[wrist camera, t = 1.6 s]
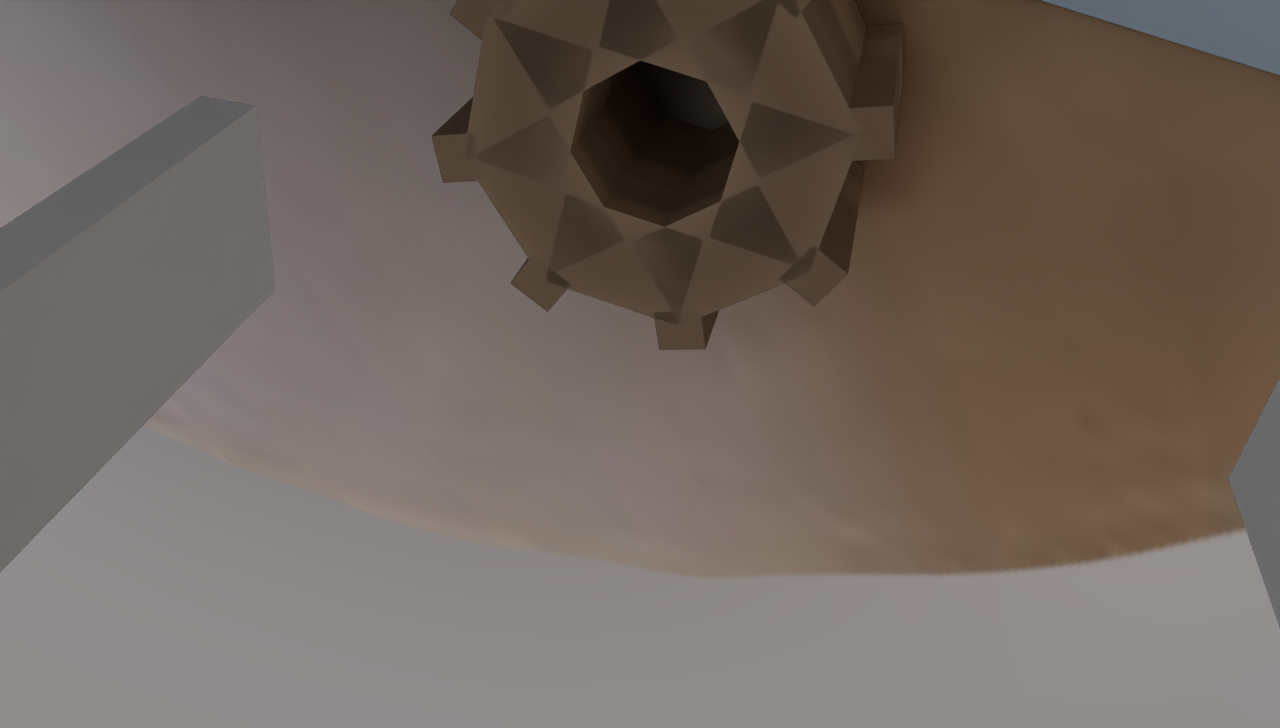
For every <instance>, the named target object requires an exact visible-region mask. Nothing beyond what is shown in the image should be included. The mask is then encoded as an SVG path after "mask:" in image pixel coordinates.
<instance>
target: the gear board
mask: <svg viewBox="0 0 1280 728" xmlns="http://www.w3.org/2000/svg"><path fill="white" fill-rule="evenodd" d="M1042 1H1045V2H1048V3H1051V4H1055V5H1058V6H1061V7H1064V8H1067V9H1070V10H1074V11H1077V12H1080V13H1083V14H1086V15H1090V16H1093V17H1096V18H1099V19H1102V20H1105V21H1109V22H1112V23H1115V24H1118V25H1121V26H1125V27H1128V28H1131V29H1134V30H1137V31H1140V32H1144V33H1147V34H1150V35H1153V36H1156V37H1159V38H1163V39H1166V40H1169V41H1172V42H1175V43H1179V44H1182V45H1185V46H1188V47H1191V48H1194V49H1198V50H1201V51H1204V52H1207V53H1210V54H1214V55H1217V56H1220V57H1223V58H1226V59H1229V60H1233V61H1236V62H1239V63H1242V64H1245V65H1249V66H1252V67H1255V68H1258V69H1261V70H1264V71H1268V72H1271V73H1274V74H1277V75H1280V0H1042Z"/></svg>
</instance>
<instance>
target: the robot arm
mask: <svg viewBox="0 0 1280 728" xmlns="http://www.w3.org/2000/svg"><path fill="white" fill-rule="evenodd" d="M274 290H275V281H274V271H273V262H272V252H271V243H270V233H269V224H268V214H267V205H266V195H265V186H264V176H263V167H262V157H261V148H260V139H259V129H258V120H257V110H256V106H254V105H248V104H242V103H237V102H231V101H226V100H220V99H214V98H209V97H203V96H200V97H199V98H197V99H196V100H194V101H193V102H191V103H190V104H188V105H187V106H185V107H184V108H182V109H181V110H179V111H178V112H176V113H175V114H173V115H172V116H170V117H169V118H167V119H166V120H164V121H163V122H161V123H160V124H158V125H157V126H155V127H153V128H152V129H150V130H149V131H147V132H146V133H144V134H143V135H141V136H140V137H138V138H137V139H135V140H134V141H132V142H131V143H129V144H128V145H126V146H125V147H123V148H122V149H120V150H119V151H117V152H116V153H114V154H113V155H111V156H110V157H108V158H107V159H105V160H103V161H102V162H100V163H99V164H97V165H96V166H94V167H93V168H91V169H90V170H88V171H87V172H85V173H84V174H82V175H81V176H79V177H78V178H76V179H75V180H73V181H72V182H70V183H69V184H67V185H66V186H64V187H63V188H61V189H60V190H58V191H56V192H55V193H53V194H52V195H50V196H49V197H47V198H46V199H44V200H43V201H41V202H40V203H38V204H37V205H35V206H34V207H32V208H31V209H29V210H28V211H26V212H25V213H23V214H22V215H20V216H19V217H17V218H16V219H14V220H13V221H11V222H10V223H8V224H6V225H5V226H3V227H2V228H0V572H1V571H2V570H3V569H4V568H5V567H6V566H7V565H8V564H9V563H10V562H11V561H12V560H13V559H14V558H15V556H17V555H18V554H19V552H21V550H22V549H23V548H24V547H25V546H26V545H27V544H28V543H29V542H30V541H31V540H32V539H33V538H34V537H35V536H36V535H37V534H38V533H39V532H40V531H41V530H42V529H43V528H44V527H45V526H46V525H47V524H48V523H49V522H50V521H51V520H52V519H53V518H54V517H55V515H56V514H57V513H58V512H59V511H60V510H61V509H62V508H63V507H64V506H65V505H66V504H67V503H68V502H69V501H70V500H71V499H72V498H73V497H74V496H75V495H76V494H77V493H78V492H79V491H80V490H81V489H82V488H83V486H85V485H86V484H87V483H88V481H89V480H90V479H91V478H92V477H93V476H94V475H95V474H96V473H97V472H98V471H99V470H100V469H101V468H102V467H103V466H104V465H105V464H106V463H107V462H108V461H109V460H110V459H111V458H112V457H113V456H114V455H115V454H116V453H117V452H118V451H119V450H120V448H121V447H123V445H124V444H125V443H126V442H127V441H128V440H129V439H130V438H131V437H132V436H133V435H134V434H135V433H136V432H137V431H138V430H139V429H140V428H141V427H142V426H143V425H144V424H145V423H146V422H147V421H148V420H149V419H150V418H151V417H152V416H153V415H154V414H155V413H156V411H157V410H158V409H159V408H160V407H161V406H162V405H163V404H164V403H165V402H166V401H167V400H168V399H169V398H170V397H171V396H172V395H173V394H174V393H175V392H176V391H177V390H178V389H179V388H180V387H181V386H182V385H183V384H184V383H185V382H186V381H187V380H188V379H189V377H190V376H191V375H192V374H193V373H194V372H195V371H196V370H197V369H198V368H199V367H200V366H201V365H202V364H203V363H204V362H205V361H206V360H207V359H208V358H209V357H210V356H211V355H212V354H213V353H214V352H215V351H216V350H217V349H218V348H219V347H220V346H221V345H222V344H223V342H224V341H225V340H226V339H227V338H228V337H229V336H230V335H231V334H232V333H233V332H234V331H235V330H236V329H237V328H238V327H239V326H240V325H241V324H242V323H243V322H244V321H245V320H246V319H247V318H248V317H249V316H250V315H251V314H252V313H253V312H254V311H255V310H256V308H257V307H258V306H259V305H260V304H261V303H262V302H263V301H264V300H265V299H266V298H267V297H268V296H269V295H270V294H271V293H272V292H273V291H274ZM1228 479H1229V482H1230V485H1231V488H1232V491H1233V494H1234V497H1235V499H1236V502H1237V505H1238V508H1239V511H1240V514H1241V517H1242V520H1243V523H1244V525H1245V528H1246V531H1247V534H1248V536H1249V540H1250V543H1251V545H1252V549H1253V551H1254V554H1255V557H1256V560H1257V563H1258V566H1259V569H1260V572H1261V575H1262V577H1263V580H1264V583H1265V586H1266V589H1267V592H1268V595H1269V598H1270V601H1271V603H1272V606H1273V609H1274V612H1275V615H1276V618H1277V621H1278V623H1279V627H1280V378H1279V380H1278V382H1277V384H1276V386H1275V388H1274V390H1273V392H1272V394H1271V396H1270V398H1269V400H1268V402H1267V404H1266V406H1265V408H1264V410H1263V412H1262V414H1261V416H1260V418H1259V420H1258V422H1257V423H1256V425H1255V427H1254V429H1253V431H1252V433H1251V435H1250V437H1249V439H1248V441H1247V443H1246V445H1245V447H1244V449H1243V451H1242V453H1241V455H1240V457H1239V459H1238V461H1237V463H1236V465H1235V467H1234V469H1233V471H1232V473H1231V474H1230V476H1229V478H1228Z"/></svg>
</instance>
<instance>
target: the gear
mask: <svg viewBox="0 0 1280 728" xmlns="http://www.w3.org/2000/svg"><path fill="white" fill-rule="evenodd" d="M450 15H451V16H452V17H454V18H455V19H456V20H457V21H459V22H460V23H461V24H462V25H464V26H465V27H466V28H467V29H469V30H470V31H471V32H472V33H474V34H475V35H476V36H477V37H479V38H480V39H481V40H482V47H481V53H480V59H479V65H478V71H477V77H476V83H475V89H474V95H473V97H472V98H471V99H470V100H469V101H468V102H467V103H466V104H465V105H464V106H463V107H462V108H461V109H460V110H459V111H458V112H456V113H455V114H454V115H453V116H452V117H451V118H450V119H449V120H448V121H447V122H446V123H445V124H444V125H443V126H442V127H440V128H439V129H438V130H437V131H436V132H435V133H434V134H433V135H432V140H433V144H434V148H435V152H436V156H437V160H438V164H439V168H440V172H441V176H442V181H443V183H448V182H467V181H478V182H479V183H480V185H481V186H482V188H483V189H484V191H485V192H486V194H487V195H488V197H489V199H490V200H491V202H492V203H493V205H494V206H495V208H496V209H497V211H498V212H499V214H500V215H501V217H502V218H503V220H504V221H505V223H506V225H507V226H508V228H509V229H510V231H511V232H512V234H513V235H514V237H515V238H516V240H517V241H518V243H519V244H520V246H521V247H522V249H523V251H524V252H525V254H526V255H527V257H528V258H527V260H526V261H525V263H524V264H523V265H522V267H521V268H520V270H519V271H518V273H517V274H516V276H515V277H514V279H513V280H512V281H511V283H510V284H512V285H513V286H514V287H516V288H517V289H518V290H520V291H521V292H522V293H524V294H525V295H526V296H528V297H529V298H530V299H531V300H533V301H534V302H535V303H537V304H538V305H539V306H541V307H542V308H543V309H545V310H546V311H547V312H548V311H549V310H550V309H551V308H552V306H553V305H554V304H555V303H556V302H557V300H558V299H559V298H560V297H561V296H562V295H563V293H564V292H565V291H566V290H567V289H570V290H573V291H576V292H579V293H582V294H585V295H588V296H591V297H594V298H597V299H600V300H603V301H606V302H609V303H612V304H614V305H617V306H620V307H623V308H626V309H629V310H632V311H635V312H638V313H641V314H644V315H647V316H650V317H653V318H654V319H655V325H656V332H657V338H658V344H659V350H675V349H706V346H707V343H708V340H709V338H710V335H711V332H712V329H713V326H714V323H715V320H716V317H717V314H718V311H719V310H720V309H722V308H725V307H727V306H730V305H732V304H735V303H737V302H739V301H742V300H744V299H747V298H749V297H752V296H754V295H757V294H759V293H761V292H764V291H766V290H769V289H771V288H774V287H776V286H779V285H781V284H783V283H785V284H787V285H788V286H789V287H790V288H792V289H793V290H794V291H795V292H797V293H798V294H799V295H800V296H802V297H803V298H804V299H805V300H807V301H808V302H809V303H810V304H812V305H813V306H815V305H816V304H817V303H818V302H819V301H820V300H821V299H822V298H823V297H824V296H825V295H826V294H828V293H829V292H830V291H831V290H832V289H833V288H834V287H835V286H836V285H837V284H838V283H839V282H840V281H841V280H842V279H843V278H844V277H845V276H846V275H847V274H848V271H849V264H850V258H851V252H852V245H853V239H854V233H855V226H856V220H857V214H858V207H859V201H860V195H861V188H862V182H863V175H864V168H863V167H862V166H861V165H860V164H858V163H857V162H856V161H861V160H880V159H895V152H896V142H897V132H898V122H899V112H900V102H901V92H902V82H903V72H904V52H903V23H898V24H886V25H874V26H867V25H866V23H865V21H864V19H863V17H862V15H861V13H860V11H859V9H858V7H857V4H856V2H855V0H458V1H457V3H456V4H455V6H454V7H453V9H452V11H451V12H450ZM640 60H641V61H644V62H647V63H650V64H654V65H657V66H660V67H663V68H666V69H669V70H672V71H675V72H678V73H681V74H684V75H688V76H691V77H694V78H697V79H700V80H703V81H706V82H707V83H708V85H709V87H710V89H711V91H712V92H713V94H714V96H715V98H716V100H717V102H718V103H719V105H720V107H721V109H722V111H723V113H724V114H725V116H726V118H727V120H728V122H729V123H727V124H725V125H723V126H721V127H719V128H717V129H715V130H713V131H710V130H707V129H704V128H701V127H698V126H695V125H692V124H689V123H686V122H682V121H679V120H676V119H673V118H670V117H667V116H664V115H661V114H660V112H659V110H658V109H657V107H656V105H655V103H654V102H653V100H652V98H651V96H650V95H649V93H648V91H647V89H646V88H645V86H644V84H643V82H642V81H641V79H640V77H639V75H638V74H637V72H636V70H635V68H634V64H635V63H636V62H638V61H640Z"/></svg>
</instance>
